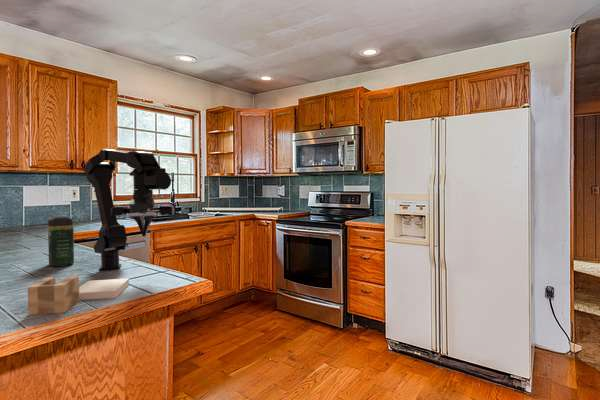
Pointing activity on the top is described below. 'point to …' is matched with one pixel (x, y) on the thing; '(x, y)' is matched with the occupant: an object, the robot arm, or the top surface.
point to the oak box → (53, 295)
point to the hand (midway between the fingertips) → (144, 236)
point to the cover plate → (102, 288)
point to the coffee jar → (60, 241)
